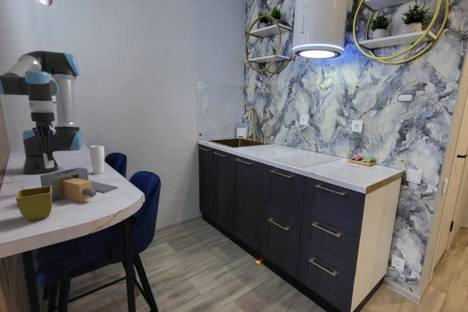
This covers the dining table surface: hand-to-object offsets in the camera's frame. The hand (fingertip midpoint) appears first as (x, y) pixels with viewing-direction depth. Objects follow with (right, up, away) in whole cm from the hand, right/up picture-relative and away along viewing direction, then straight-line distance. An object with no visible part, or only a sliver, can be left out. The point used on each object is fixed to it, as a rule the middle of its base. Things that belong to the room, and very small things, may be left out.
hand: (49, 167), depth 103 cm
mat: (+14, -9, +8) cm, 19 cm away
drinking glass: (+5, -5, +29) cm, 30 cm away
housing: (+10, -11, -3) cm, 15 cm away
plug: (+14, -12, -5) cm, 19 cm away
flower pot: (+14, -16, -23) cm, 31 cm away
